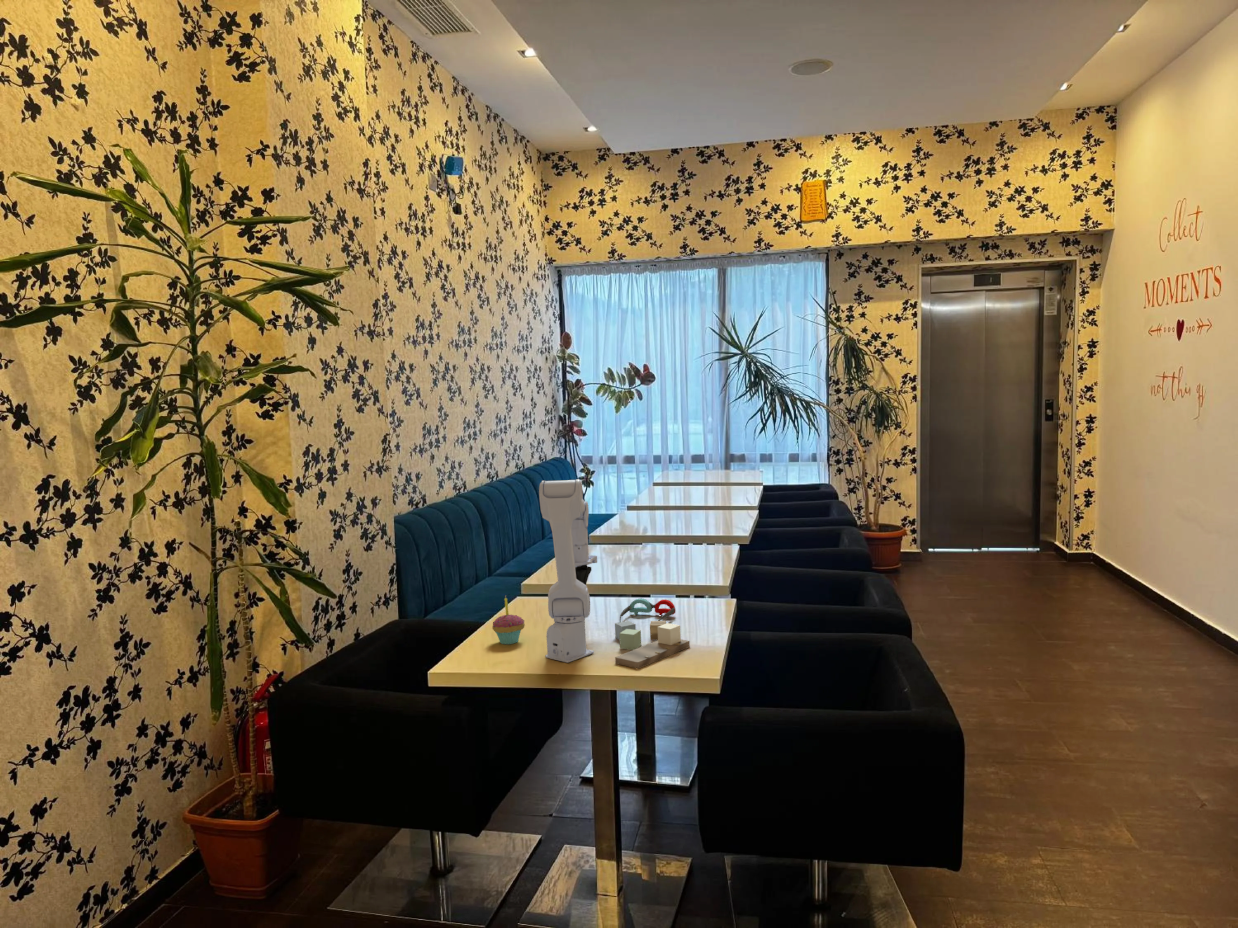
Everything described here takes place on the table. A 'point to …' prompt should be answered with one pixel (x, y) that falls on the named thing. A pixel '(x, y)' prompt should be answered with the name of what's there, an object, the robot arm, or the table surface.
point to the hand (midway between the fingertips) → (579, 594)
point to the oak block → (655, 629)
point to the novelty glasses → (650, 608)
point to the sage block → (630, 639)
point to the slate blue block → (623, 627)
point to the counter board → (650, 653)
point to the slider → (669, 634)
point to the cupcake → (508, 627)
